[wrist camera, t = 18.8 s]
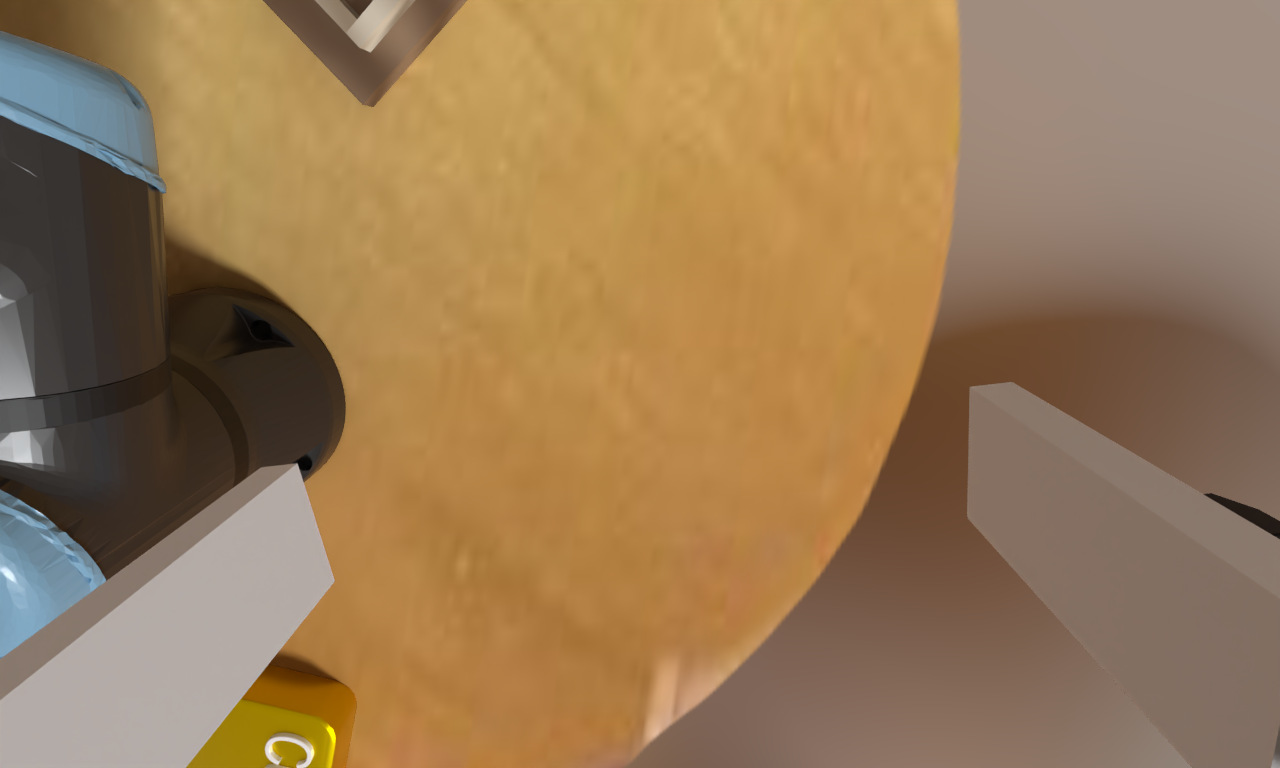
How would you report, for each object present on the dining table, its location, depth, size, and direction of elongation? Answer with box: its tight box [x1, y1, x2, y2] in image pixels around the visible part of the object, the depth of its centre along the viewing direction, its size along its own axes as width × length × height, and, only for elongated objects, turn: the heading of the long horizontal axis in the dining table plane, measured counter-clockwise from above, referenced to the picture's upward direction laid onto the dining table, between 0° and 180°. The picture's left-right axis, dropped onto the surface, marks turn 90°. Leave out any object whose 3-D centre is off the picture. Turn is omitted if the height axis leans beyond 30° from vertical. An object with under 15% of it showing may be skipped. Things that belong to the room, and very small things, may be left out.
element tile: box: [186, 665, 357, 768], centre depth 54 cm, size 15×15×5 cm
